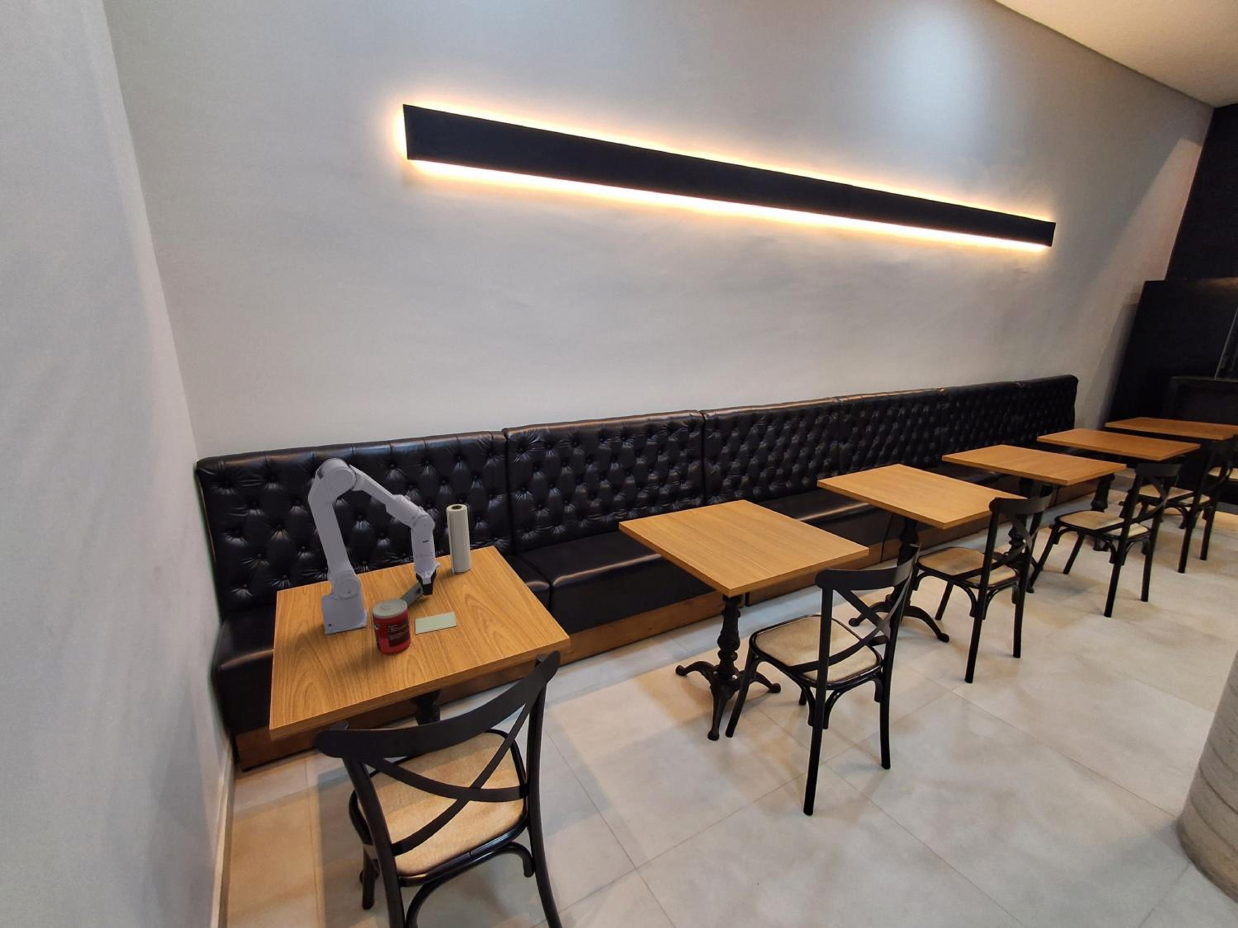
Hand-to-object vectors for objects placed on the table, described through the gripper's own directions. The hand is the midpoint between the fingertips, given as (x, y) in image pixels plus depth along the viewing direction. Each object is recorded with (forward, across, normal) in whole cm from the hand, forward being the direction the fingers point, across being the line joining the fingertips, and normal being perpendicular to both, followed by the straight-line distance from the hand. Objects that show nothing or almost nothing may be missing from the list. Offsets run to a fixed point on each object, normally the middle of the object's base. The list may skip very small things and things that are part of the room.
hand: (428, 594), depth 147 cm
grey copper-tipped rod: (0, -2, +5) cm, 5 cm away
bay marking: (+1, -14, -1) cm, 14 cm away
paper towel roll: (+1, +14, -10) cm, 18 cm away
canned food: (+1, -21, +9) cm, 22 cm away
